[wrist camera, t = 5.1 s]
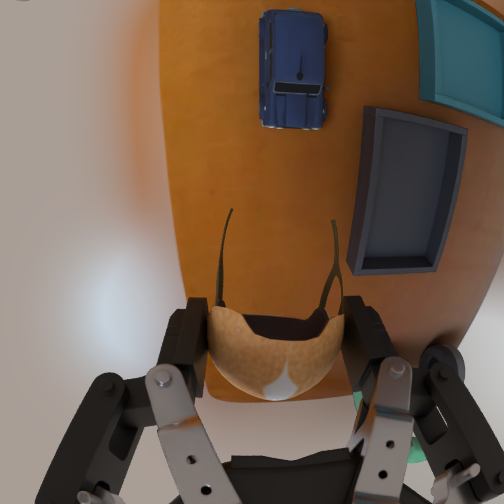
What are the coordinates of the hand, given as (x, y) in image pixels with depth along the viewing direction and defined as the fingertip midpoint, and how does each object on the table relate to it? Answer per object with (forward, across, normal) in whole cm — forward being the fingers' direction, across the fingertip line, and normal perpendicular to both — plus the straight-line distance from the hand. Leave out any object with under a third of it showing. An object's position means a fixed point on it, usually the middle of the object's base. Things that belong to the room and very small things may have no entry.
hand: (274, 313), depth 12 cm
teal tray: (+18, -24, -18) cm, 35 cm away
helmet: (+3, 0, 0) cm, 3 cm away
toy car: (+18, -3, -12) cm, 22 cm away
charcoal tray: (+18, -16, 0) cm, 24 cm away
